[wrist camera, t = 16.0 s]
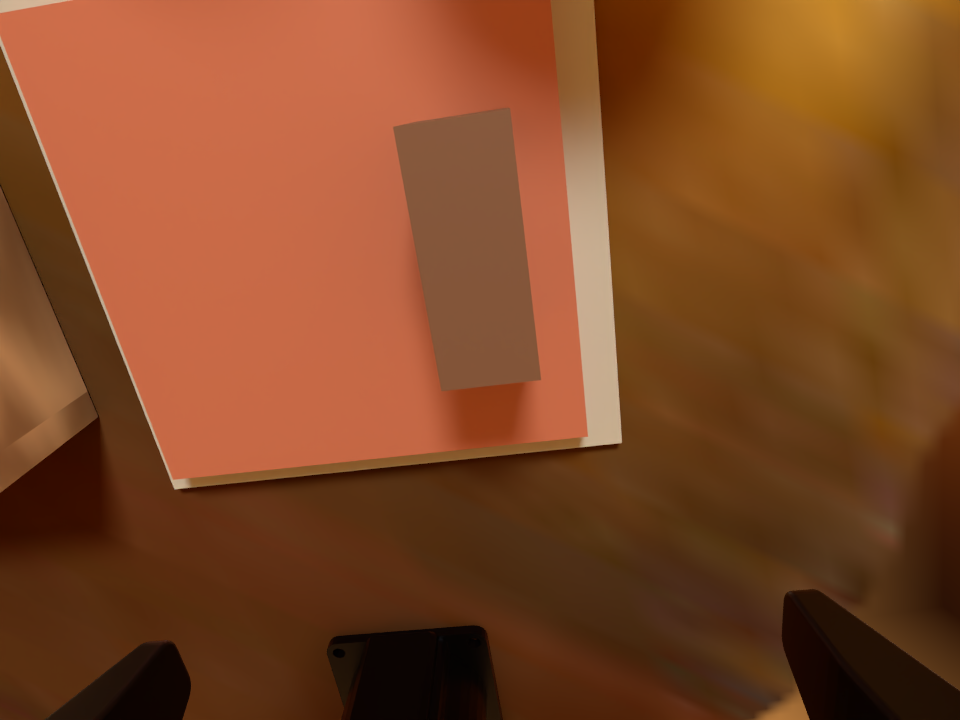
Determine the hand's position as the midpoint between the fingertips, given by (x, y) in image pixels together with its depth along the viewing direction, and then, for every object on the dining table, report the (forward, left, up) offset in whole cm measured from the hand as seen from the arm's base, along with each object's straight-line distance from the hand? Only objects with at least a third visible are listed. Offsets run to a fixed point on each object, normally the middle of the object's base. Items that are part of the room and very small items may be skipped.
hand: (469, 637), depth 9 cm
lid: (+4, +4, -12) cm, 13 cm away
